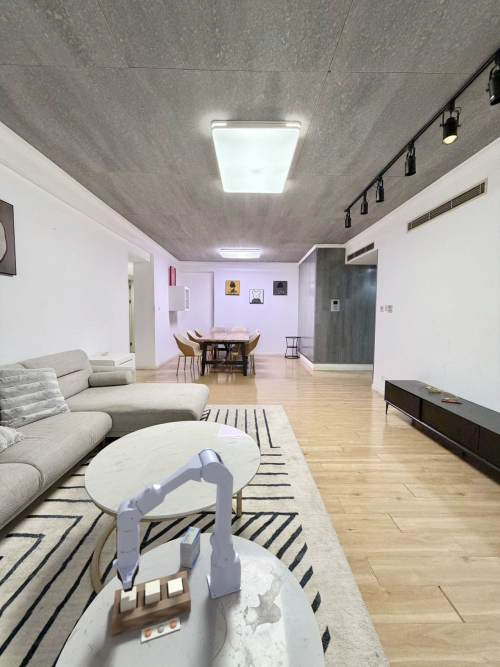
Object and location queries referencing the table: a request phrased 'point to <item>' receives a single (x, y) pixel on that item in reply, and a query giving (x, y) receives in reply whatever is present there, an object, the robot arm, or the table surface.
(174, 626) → the pattern card
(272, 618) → the table surface
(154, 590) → the button middle
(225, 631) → the table surface
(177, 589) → the button
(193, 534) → the medicine box
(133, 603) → the button
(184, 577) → the board
